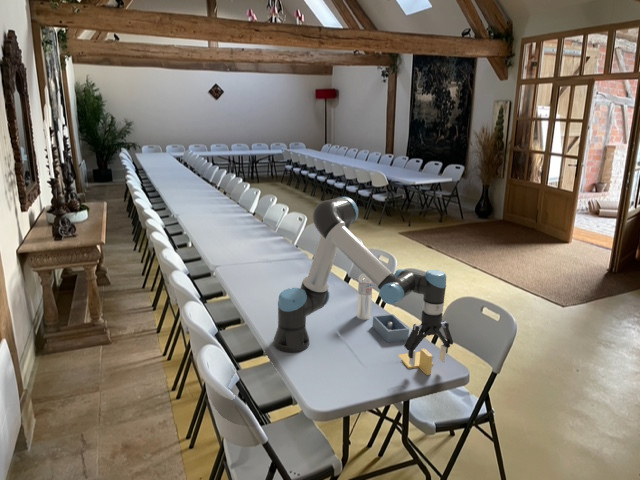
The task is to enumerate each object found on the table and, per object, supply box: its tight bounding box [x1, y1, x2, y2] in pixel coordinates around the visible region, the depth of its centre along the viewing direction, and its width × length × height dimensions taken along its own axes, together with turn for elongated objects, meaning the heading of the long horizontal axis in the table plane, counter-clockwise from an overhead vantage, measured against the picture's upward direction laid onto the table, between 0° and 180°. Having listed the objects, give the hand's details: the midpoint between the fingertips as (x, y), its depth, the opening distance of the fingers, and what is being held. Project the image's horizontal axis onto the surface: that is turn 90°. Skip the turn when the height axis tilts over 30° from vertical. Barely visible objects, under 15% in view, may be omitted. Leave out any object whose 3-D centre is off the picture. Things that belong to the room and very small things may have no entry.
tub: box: [372, 313, 410, 344], centre depth 212 cm, size 10×16×6 cm, turn 17°
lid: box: [397, 348, 434, 376], centre depth 190 cm, size 11×23×8 cm, turn 17°
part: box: [387, 321, 394, 330], centre depth 216 cm, size 3×3×3 cm
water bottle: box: [356, 272, 374, 321], centre depth 225 cm, size 7×7×25 cm
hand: (427, 362), depth 182 cm, fingers open, 12 cm apart
